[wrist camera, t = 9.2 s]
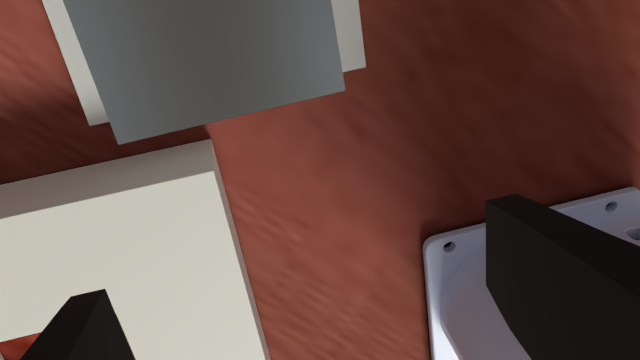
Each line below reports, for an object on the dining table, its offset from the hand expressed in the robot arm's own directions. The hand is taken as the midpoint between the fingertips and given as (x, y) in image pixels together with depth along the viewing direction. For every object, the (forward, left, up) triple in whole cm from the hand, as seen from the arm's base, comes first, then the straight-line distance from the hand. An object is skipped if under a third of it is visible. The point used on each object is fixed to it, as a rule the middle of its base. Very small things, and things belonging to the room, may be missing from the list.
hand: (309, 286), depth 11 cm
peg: (+1, -5, -9) cm, 11 cm away
